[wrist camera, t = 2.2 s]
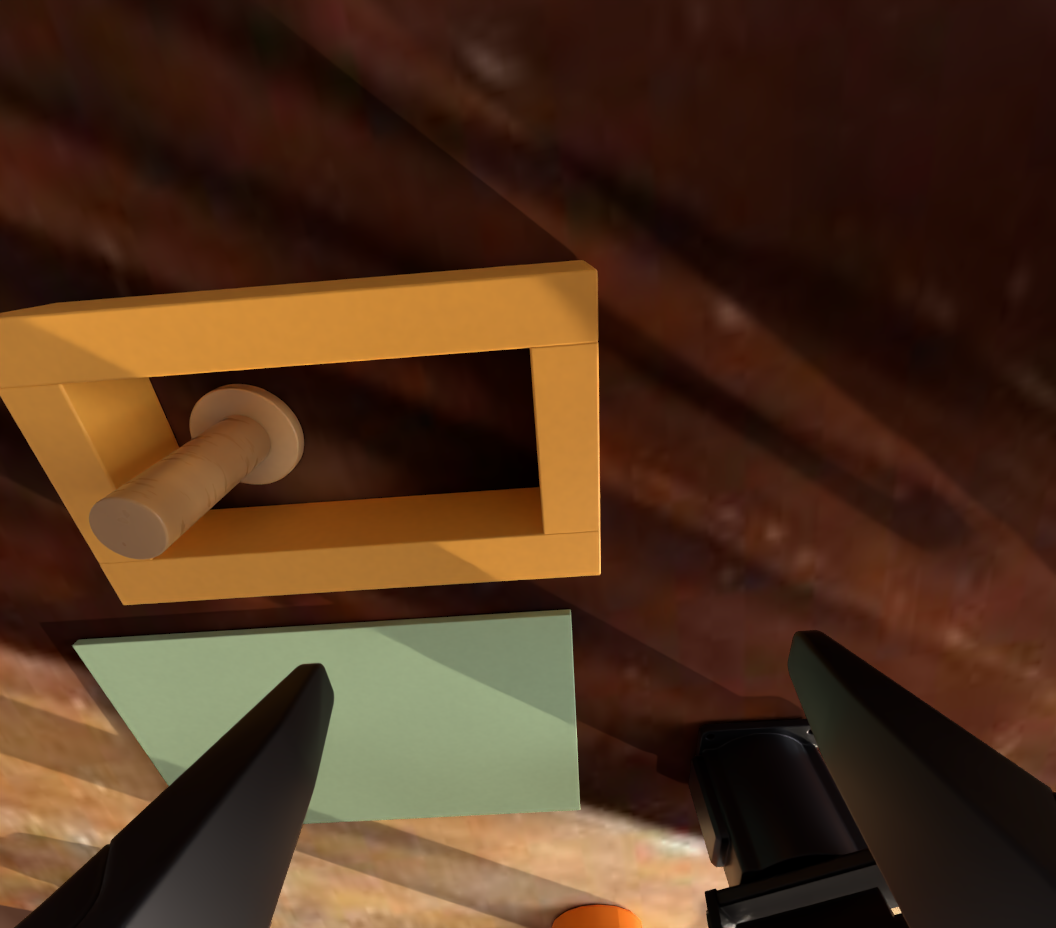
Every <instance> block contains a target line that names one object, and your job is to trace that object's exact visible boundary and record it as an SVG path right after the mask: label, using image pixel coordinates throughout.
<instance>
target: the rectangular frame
mask: <svg viewBox="0 0 1056 928" xmlns="http://www.w3.org/2000/svg"><path fill="white" fill-rule="evenodd" d="M521 348H530V361H531V375H532V388H533V402H534V415H535V429H536V442H537V456H538V470H539V483H540V487H534V488H519V489H504V490H490V491H475V492H461V493H446V494H432V495H417V496H403V497H388V498H374V499H359V500H345V501H330V502H315V503H301V504H286V505H272V506H257V507H243V508H228V509H214V510H209V511H208V512H207V513H205V514H204V515H203V516H202V517H201V518H200V519H199V520H198V521H197V522H196V523H195V524H194V525H192V526H191V527H190V528H189V529H188V530H187V531H186V532H185V533H184V534H183V535H182V536H180V537H179V538H178V539H177V540H176V541H175V542H174V543H173V544H172V545H171V546H170V547H169V548H167V549H166V550H165V551H164V552H163V553H162V554H160V555H159V556H156V557H154V558H150V559H133V558H128V557H125V556H122V555H119V554H117V553H115V552H113V551H112V550H110V549H109V548H107V547H106V546H105V545H103V544H102V543H101V542H100V541H99V540H98V539H97V537H96V536H95V535H94V533H93V531H92V529H91V527H90V523H89V514H90V511H91V509H92V507H93V506H94V504H95V503H96V502H98V501H100V500H101V499H103V498H104V497H106V496H107V495H109V494H110V493H112V492H113V491H115V490H116V489H118V488H119V487H121V486H122V485H124V484H125V483H127V482H128V481H130V480H131V479H133V478H134V477H136V476H137V475H139V474H140V473H142V472H143V471H145V470H146V469H148V468H149V467H151V466H152V465H154V464H155V463H157V462H158V461H160V460H161V459H163V458H164V457H166V456H167V455H169V454H171V453H172V452H174V451H175V450H177V449H178V448H179V446H178V443H177V441H176V439H175V437H174V434H173V432H172V430H171V428H170V425H169V423H168V421H167V418H166V416H165V414H164V412H163V409H162V407H161V405H160V402H159V400H158V398H157V396H156V393H155V391H154V389H153V387H152V384H151V382H150V380H149V377H156V376H169V375H183V374H196V373H209V372H222V371H235V370H248V369H261V368H274V367H287V366H300V365H313V364H326V363H339V362H352V361H365V360H378V359H391V358H404V357H417V356H430V355H443V354H456V353H469V352H482V351H495V350H508V349H521ZM0 396H1V398H2V400H3V401H4V403H5V405H6V407H7V408H8V410H9V412H10V413H11V415H12V417H13V418H14V420H15V422H16V423H17V425H18V427H19V429H20V430H21V432H22V434H23V435H24V437H25V439H26V440H27V442H28V444H29V445H30V447H31V449H32V451H33V452H34V454H35V456H36V457H37V459H38V461H39V462H40V464H41V466H42V467H43V469H44V471H45V473H46V474H47V476H48V478H49V479H50V481H51V483H52V484H53V486H54V488H55V489H56V491H57V493H58V495H59V496H60V498H61V500H62V501H63V503H64V505H65V506H66V508H67V510H68V511H69V513H70V515H71V517H72V518H73V520H74V522H75V523H76V525H77V527H78V528H79V530H80V532H81V533H82V535H83V537H84V539H85V540H86V542H87V544H88V545H89V547H90V549H91V550H92V552H93V554H94V555H95V557H96V559H97V561H98V562H99V563H100V566H101V568H102V570H103V571H104V573H105V575H106V576H107V578H108V580H109V581H110V583H111V585H112V587H113V588H114V590H115V592H116V593H117V595H118V597H119V598H120V600H121V602H122V603H123V605H133V604H149V603H164V602H180V601H196V600H212V599H227V598H243V597H259V596H274V595H290V594H306V593H322V592H337V591H353V590H369V589H385V588H400V587H416V586H432V585H447V584H463V583H479V582H495V581H510V580H526V579H542V578H558V577H573V576H589V575H600V573H601V553H600V452H599V348H598V272H597V270H596V269H595V268H593V267H592V266H591V265H589V264H588V263H586V262H585V261H583V260H576V261H564V262H551V263H539V264H527V265H515V266H502V267H490V268H478V269H466V270H453V271H441V272H429V273H416V274H404V275H392V276H380V277H367V278H355V279H343V280H331V281H318V282H306V283H294V284H282V285H269V286H257V287H245V288H232V289H220V290H208V291H196V292H183V293H171V294H159V295H147V296H134V297H122V298H110V299H97V300H85V301H73V302H61V303H54V304H48V305H43V306H37V307H31V308H26V309H20V310H15V311H9V312H4V313H0Z"/></svg>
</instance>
